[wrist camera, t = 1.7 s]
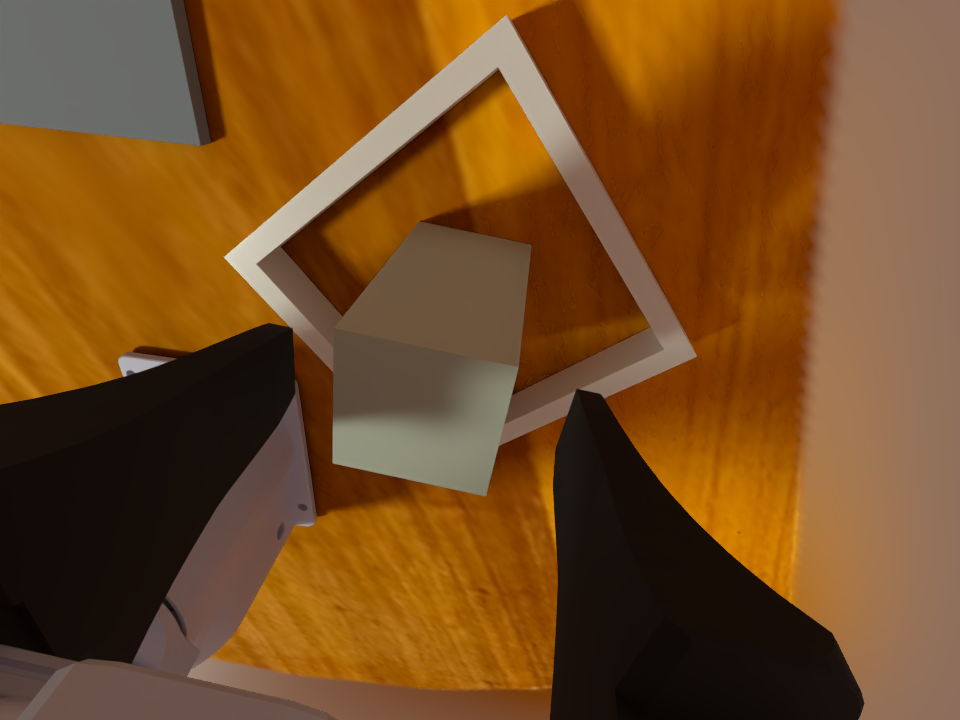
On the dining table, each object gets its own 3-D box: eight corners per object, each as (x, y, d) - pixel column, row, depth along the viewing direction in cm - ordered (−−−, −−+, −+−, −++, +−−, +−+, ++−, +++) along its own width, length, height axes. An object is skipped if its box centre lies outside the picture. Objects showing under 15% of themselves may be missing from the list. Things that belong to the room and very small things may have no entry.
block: (531, 244, 17) (518, 367, 10) (509, 342, 19) (485, 496, 12) (419, 221, 17) (333, 327, 10) (409, 321, 19) (332, 463, 13)
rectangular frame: (684, 331, 18) (697, 356, 16) (439, 447, 23) (431, 476, 21) (511, 19, 14) (506, 15, 12) (251, 240, 18) (223, 257, 17)
